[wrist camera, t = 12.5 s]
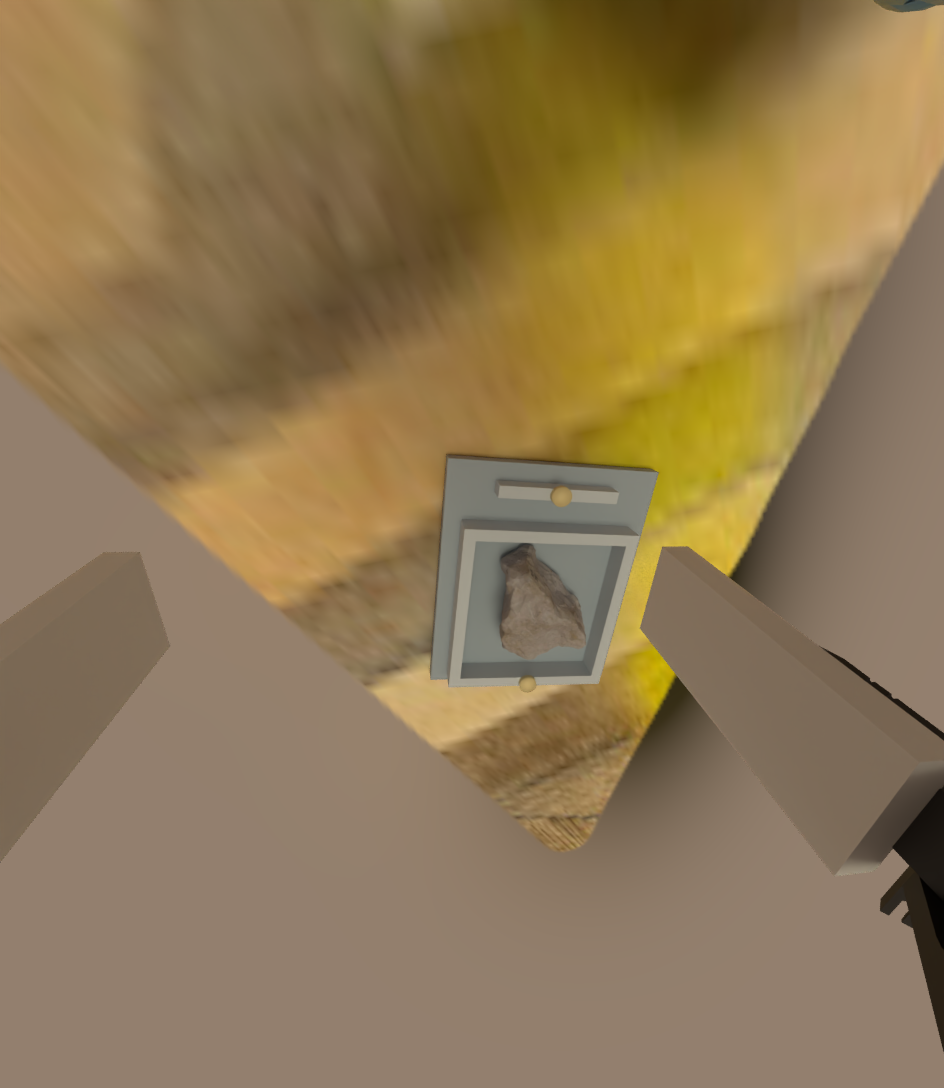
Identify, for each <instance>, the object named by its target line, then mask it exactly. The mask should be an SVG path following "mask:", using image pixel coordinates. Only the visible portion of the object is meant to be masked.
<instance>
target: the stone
mask: <svg viewBox="0 0 944 1088" xmlns="http://www.w3.org/2000/svg"><path fill="white" fill-rule="evenodd" d="M535 552H536V550H535V548H534V547H533V546H532V545H528V544H527V545H523V546H521V547H519V548H518V549H517V550H516V551H514V552H511V553H510V554H507V555H506V556H505V557H502V559H501V569H502V571H503V572H504V574H505V576H506V592H505V596H504V601H503V610H502V622H501V624H500V625H499V629H500V637H501V642H502V647H503V648H504V649H506V650H508V651H509V652H511V653H515V654H516V655H518V656H520V657H522V658H524V659H527V660H530V659H535V658H536V657H537V656H538V655H540V654H542V653H546V652H548V651H549V650H551V649H553V648H554V647H557V646H561V647H564V646H565V647H573V648H575V649H581V648H583V647H584V646H586V634H585V627H584V624H583V619H582V612H581V606H580V603H579V602H578V598H577V597H576V596H575V595H573V594H571V593H569V592H568V591H567V589H566V587H565V586H564V585H563V583H562V581H561V579H560V578H559V576H558V575H557V574H556V573H554V572H553V571H551V570H550V569H549V568H548V567H547V566H546V565H545V564H544V563H542V562H541V561H539V560H538V559H537V558H536V554H535Z"/></svg>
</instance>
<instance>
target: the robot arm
mask: <svg viewBox="0 0 944 1088" xmlns="http://www.w3.org/2000/svg"><path fill="white" fill-rule="evenodd" d="M874 2H875V3H877V4H878V5H880V6H881V7H883V8H885V9H887V10H891V11H895V12H910V11H920V10H925V9H928V8H931V7H933V6H935V5H944V0H874ZM640 629H641V630H642V631H643V633H644V634H645V635H646V637H647V638H648V639H649V640H650V642H651V643H652V644H653V646H654V647H655V648H656V649H657V651H658V652H659V653H660V654H661V656H662V657H663V658H664V660H665V661H666V662H667V663H668V665H669V666H670V667H671V669H672V670H673V671H674V672H675V674H676V675H677V676H678V677H679V679H680V680H681V681H682V683H683V684H684V685H685V686H686V688H687V689H688V690H689V692H690V693H691V694H692V695H693V696H694V698H695V699H696V700H697V702H698V703H699V704H700V706H701V707H702V708H703V709H704V711H705V712H706V713H707V714H708V716H709V717H710V718H711V719H712V721H713V722H714V723H715V725H716V726H717V727H718V728H719V730H720V731H721V732H722V733H723V735H724V736H725V738H726V739H727V740H728V741H729V743H730V744H731V745H732V746H733V748H734V749H735V750H736V752H737V753H738V754H739V755H740V757H741V758H742V759H743V760H744V762H745V763H746V764H747V765H748V767H749V768H750V769H751V770H752V772H753V773H754V775H755V776H756V777H757V778H758V779H759V781H760V782H761V783H762V785H763V786H764V787H765V789H766V790H767V791H768V792H769V794H770V795H771V796H772V798H773V799H774V800H775V801H776V802H777V804H778V805H779V806H780V808H781V809H782V810H783V812H784V813H785V814H786V815H787V816H788V818H789V819H790V821H791V822H792V823H793V824H794V826H795V827H796V828H797V829H798V831H799V832H800V833H801V835H802V836H803V837H804V838H805V840H806V841H807V842H808V843H809V845H810V846H811V847H812V849H813V850H814V851H815V852H816V854H817V855H818V856H819V858H820V859H821V860H822V861H823V863H824V864H825V865H826V867H827V868H828V869H829V870H830V872H831V873H832V874H833V875H834V876H841V875H849V874H856V873H864V872H871V871H875V870H876V869H877V867H878V866H879V865H880V864H881V863H882V861H883V860H884V859H885V858H886V856H887V855H888V854H889V853H890V851H891V850H892V849H894V850H895V851H896V852H897V853H898V854H899V855H900V856H901V857H902V858H903V859H904V860H905V861H906V862H907V864H908V865H909V867H908V868H907V869H906V871H905V872H904V873H903V874H902V875H901V876H900V877H899V879H898V880H897V881H896V882H895V883H894V884H893V886H892V887H891V888H890V889H889V890H888V891H887V892H886V894H885V895H884V896H883V897H882V898H881V903H880V911H881V912H883V913H885V914H887V915H890V913H891V912H892V911H893V910H894V909H895V908H896V907H897V906H898V905H899V904H900V903H901V901H902V900H903V901H906V902H907V906H908V910H909V911H908V912H907V913H906V914H905V915H904V917H903V918H902V923H904V924H906V925H908V926H910V927H912V928H913V930H914V934H915V938H916V942H917V946H918V950H919V954H920V958H921V962H922V966H923V970H924V974H925V978H926V982H927V986H928V990H929V995H930V999H931V1003H932V1006H933V1011H934V1015H935V1019H936V1023H937V1027H938V1031H939V1035H940V1039H941V1043H942V1047H943V1051H944V733H943V732H942V731H940V730H939V729H938V728H936V727H935V726H934V725H932V724H931V723H930V722H928V721H927V720H925V719H924V718H923V717H921V716H920V715H919V714H917V713H916V712H915V711H913V710H912V709H911V708H909V707H908V706H906V705H905V704H904V703H903V702H901V701H900V700H899V699H893V698H892V696H891V693H889V692H888V691H887V690H885V689H884V688H883V687H881V686H880V685H878V684H877V683H876V682H871V681H870V678H869V677H868V676H866V675H865V674H864V673H862V672H861V671H860V670H858V669H857V668H856V667H854V666H853V665H852V664H850V663H849V662H847V661H846V660H845V659H843V658H841V657H839V656H837V655H836V654H834V653H832V652H830V651H827V650H826V649H824V648H822V647H820V646H818V645H817V644H816V643H814V642H813V641H812V640H810V639H809V638H808V637H806V636H805V635H804V634H802V633H801V632H800V631H798V630H797V629H796V628H795V627H793V626H792V625H791V624H789V623H788V622H787V621H785V620H784V619H783V618H781V617H780V616H779V615H777V614H776V613H775V612H773V611H772V610H771V609H769V608H768V607H767V606H765V605H764V604H763V603H762V602H760V601H759V600H757V599H756V598H755V597H754V596H752V595H751V594H750V593H748V592H747V591H746V590H744V589H743V588H742V587H740V586H739V585H738V584H737V583H735V582H734V581H733V580H731V579H730V578H729V577H727V576H726V575H725V574H723V573H722V572H721V571H719V570H718V569H717V568H715V567H714V566H713V565H712V564H710V563H709V562H708V561H706V560H705V559H704V558H702V557H701V556H700V555H698V554H697V553H696V552H694V551H693V550H692V549H690V548H689V547H662V550H661V554H660V557H659V561H658V564H657V568H656V572H655V575H654V579H653V583H652V586H651V590H650V594H649V597H648V601H647V605H646V608H645V612H644V616H643V619H642V623H641V627H640ZM169 647H170V644H169V641H168V638H167V635H166V632H165V628H164V625H163V622H162V619H161V616H160V613H159V610H158V607H157V604H156V600H155V597H154V595H153V591H152V588H151V585H150V582H149V579H148V576H147V573H146V570H145V567H144V563H143V560H142V557H141V554H140V552H107V553H106V552H104V553H102V554H101V555H99V556H98V557H96V558H95V559H94V560H92V561H91V562H89V563H88V564H86V565H85V566H83V567H82V568H81V569H79V570H78V571H76V572H75V573H73V574H72V575H70V576H69V577H68V578H66V579H65V580H64V581H62V582H60V583H59V584H58V585H56V586H55V587H53V588H52V589H50V590H49V591H47V592H46V593H45V594H43V595H42V596H40V597H39V598H37V599H36V600H35V601H33V602H32V603H30V604H29V605H27V606H26V607H24V608H23V609H22V610H20V611H19V612H17V613H16V614H14V615H13V616H12V617H10V618H9V619H7V620H6V621H4V622H3V623H2V624H0V862H1V861H2V860H3V858H4V857H5V856H6V855H7V853H8V852H9V851H10V850H11V848H12V847H13V846H14V844H15V843H16V842H17V841H18V839H19V838H20V837H21V835H22V834H23V833H24V832H25V830H26V829H27V827H29V825H30V824H31V823H32V821H33V820H34V819H35V818H36V816H37V815H38V814H39V813H40V811H41V810H42V809H43V807H44V806H45V805H46V804H47V802H48V801H49V800H50V799H51V797H52V796H53V795H54V793H55V792H56V791H57V790H58V788H59V787H60V786H61V785H62V783H63V782H64V781H65V779H66V778H67V777H68V776H69V774H70V773H71V772H72V771H73V769H74V768H75V767H76V765H77V764H78V763H79V762H80V760H81V759H82V758H83V756H84V755H85V754H86V752H87V751H88V750H89V749H90V747H91V746H92V745H93V744H94V743H95V741H96V740H97V739H98V737H99V736H100V735H101V734H102V732H103V731H104V730H105V728H106V727H107V726H108V725H109V723H110V722H111V721H112V720H113V718H114V717H115V715H116V714H117V713H118V712H119V711H120V709H121V708H122V707H123V706H124V704H125V703H126V702H127V700H128V699H129V698H130V697H131V695H132V694H133V693H134V691H135V690H136V689H137V688H138V686H139V685H140V684H141V683H142V681H143V680H144V679H145V678H146V676H147V675H148V674H149V672H150V671H151V670H152V669H153V667H154V666H155V665H156V664H157V662H158V661H159V660H160V658H161V657H162V656H163V655H164V653H165V652H166V651H167V650H168V648H169Z"/></svg>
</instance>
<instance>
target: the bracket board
mask: <svg viewBox="0 0 944 1088" xmlns="http://www.w3.org/2000/svg"><path fill="white" fill-rule="evenodd" d="M658 473H659V472H657V471H655V470H652V469H646V468H631V467H617V466H602V465H588V464H574V463H559V462H545V461H531V460H516V459H502V458H487V457H473V456H459V455H447V456H446V469H445V482H444V495H443V508H442V521H441V534H440V547H439V560H438V573H437V587H436V600H435V613H434V626H433V639H432V652H431V665H430V678H431V680H437V679H448V686H449V687H484V686H520V689H521V690H522V691H523V692H531V691H533V690H534V689H535V688H536V685H563V684H598V683H599V680H600V676H601V674H602V671H603V667H604V664H605V660H606V657H607V653H608V649H609V646H610V642H611V639H612V635H613V632H614V628H615V625H616V621H617V618H618V614H619V611H620V607H621V604H622V600H623V596H624V593H625V589H626V586H627V582H628V579H629V575H630V572H631V568H632V565H633V561H634V558H635V554H636V550H637V547H638V543H639V540H640V536H641V533H642V529H643V526H644V522H645V519H646V515H647V512H648V508H649V505H650V501H651V497H652V494H653V490H654V487H655V483H656V480H657V476H658ZM527 544H528V545H532V546H533V547H534V548H535V550H536V552H535V554H536V558H537V559H538V560H539V561H541V562H542V563H544V564H545V565H546V566H547V567H548V568H549V569H550V570H551V571H553V572H554V573H556V574H557V575H558V576H559V578H560V579H561V581H562V583H563V585H564V586H565V587H566V589H567V591H568V592H569V593H571V594H573V595H575V596H576V597H577V598H578V602H579V603H580V606H581V612H582V619H583V624H584V627H585V634H586V646H584V647H583V648H581V649H575V648H573V647H565V646H564V647H561V646H557V647H554V648H553V649H551V650H549V651H548V652H546V653H542V654H540V655H538V656H537V657H536V658H535V659H530V660H527V659H524V658H522V657H520V656H518V655H516V654H515V653H511V652H509V651H508V650H506V649H504V648H503V647H502V642H501V637H500V629H499V625H500V624H501V622H502V610H503V601H504V596H505V592H506V576H505V574H504V572H503V571H502V569H501V559H502V557H505V556H506V555H507V554H510V553H511V552H514V551H516V550H517V549H518V548H519V547H521V546H523V545H527Z"/></svg>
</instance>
